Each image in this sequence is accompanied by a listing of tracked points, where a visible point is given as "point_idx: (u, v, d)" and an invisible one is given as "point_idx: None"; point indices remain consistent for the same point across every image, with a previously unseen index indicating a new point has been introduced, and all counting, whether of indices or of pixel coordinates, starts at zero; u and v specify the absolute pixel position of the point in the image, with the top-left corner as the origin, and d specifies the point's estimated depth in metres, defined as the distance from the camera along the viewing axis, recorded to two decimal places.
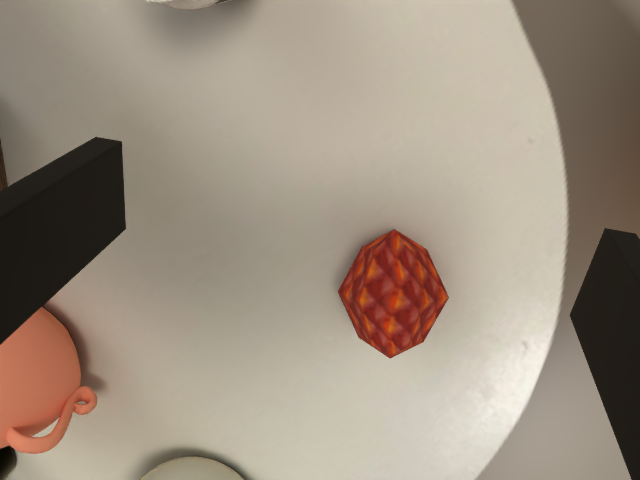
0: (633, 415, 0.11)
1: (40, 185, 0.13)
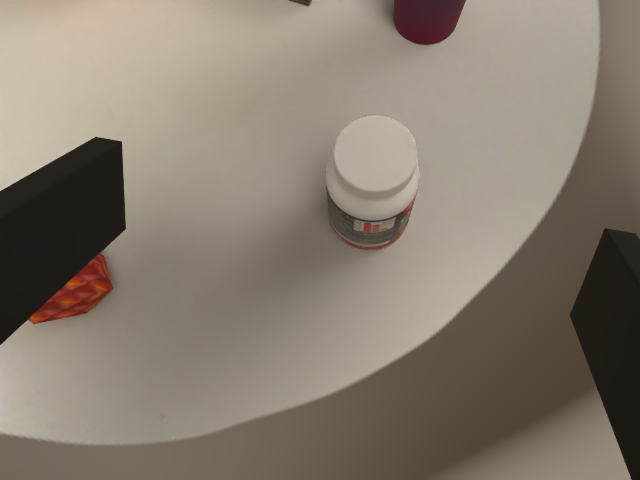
0: (633, 415, 0.11)
1: (40, 185, 0.13)
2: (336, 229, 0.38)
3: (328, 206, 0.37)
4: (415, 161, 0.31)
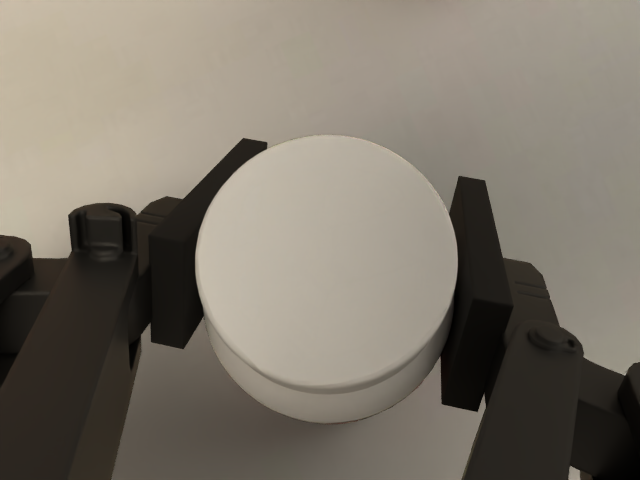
0: None
1: (224, 182, 0.14)
2: None
3: None
4: (451, 287, 0.10)
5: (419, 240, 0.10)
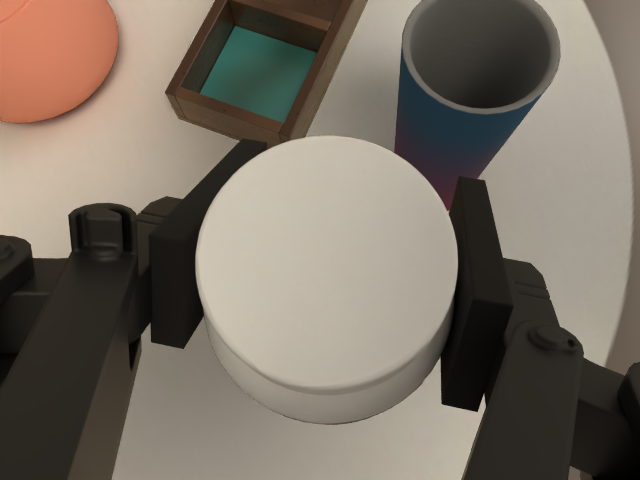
0: None
1: (224, 182, 0.14)
2: None
3: None
4: (452, 287, 0.10)
5: (419, 241, 0.10)
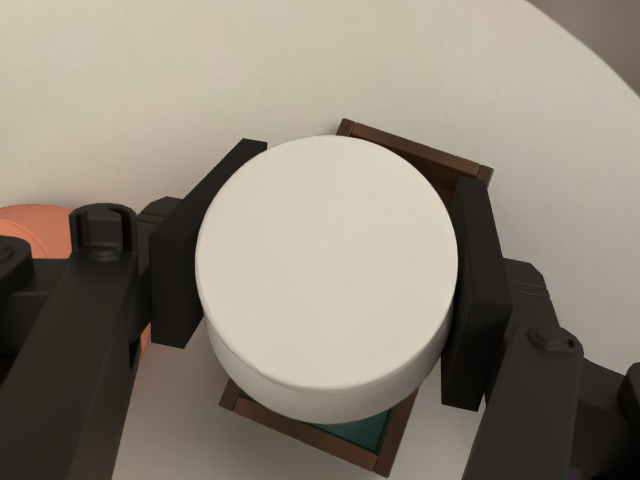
0: None
1: (224, 182, 0.14)
2: None
3: None
4: (451, 287, 0.10)
5: (419, 241, 0.10)
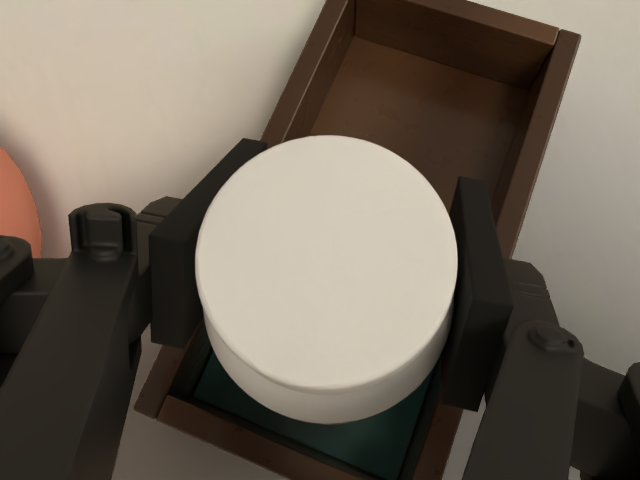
0: None
1: (224, 182, 0.14)
2: None
3: None
4: (451, 287, 0.10)
5: (419, 241, 0.10)
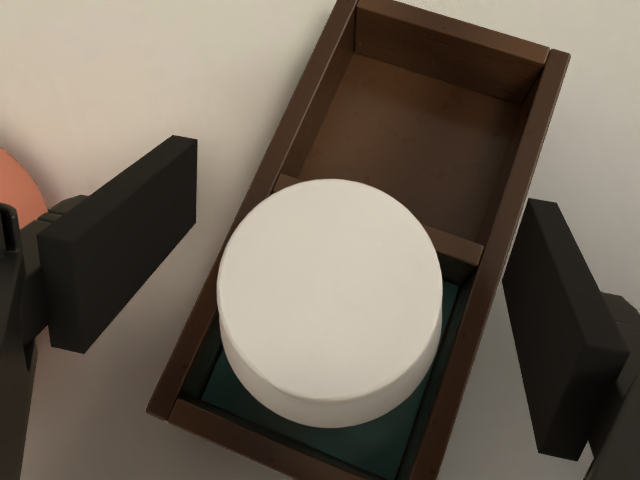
0: (535, 359, 0.12)
1: (137, 180, 0.13)
2: None
3: None
4: (437, 313, 0.11)
5: (409, 272, 0.12)
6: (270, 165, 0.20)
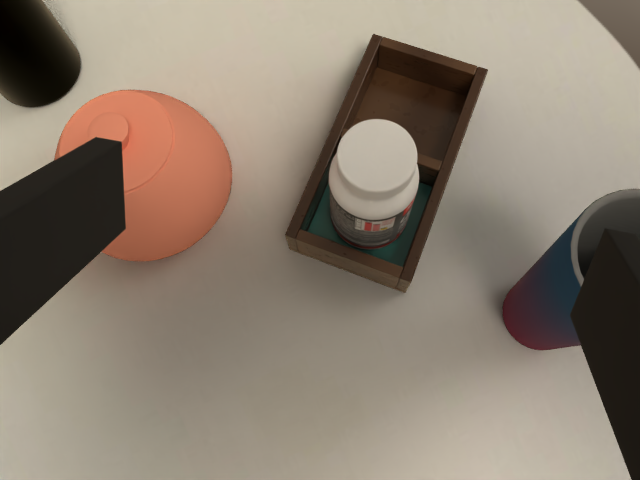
0: (633, 414, 0.11)
1: (40, 185, 0.13)
2: (338, 228, 0.40)
3: (330, 205, 0.38)
4: (415, 163, 0.32)
5: (405, 150, 0.33)
6: (338, 124, 0.41)
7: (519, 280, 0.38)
